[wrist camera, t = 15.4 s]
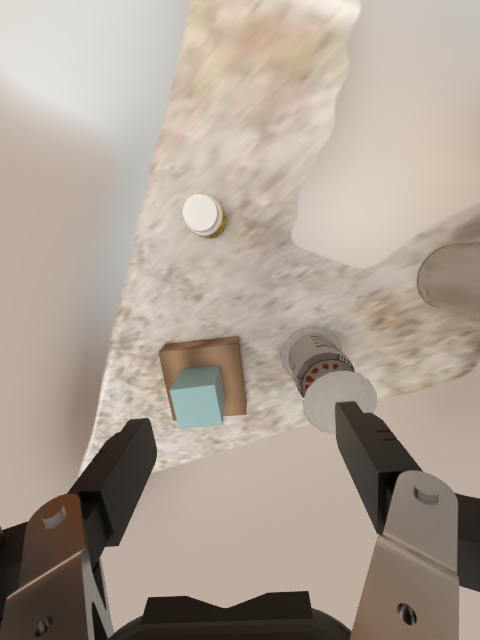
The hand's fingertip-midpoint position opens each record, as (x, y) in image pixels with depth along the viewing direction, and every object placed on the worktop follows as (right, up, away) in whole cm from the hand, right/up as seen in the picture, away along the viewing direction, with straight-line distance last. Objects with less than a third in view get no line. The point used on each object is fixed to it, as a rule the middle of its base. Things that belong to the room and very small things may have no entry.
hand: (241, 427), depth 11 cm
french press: (+12, -2, +31) cm, 34 cm away
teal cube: (-6, -5, +29) cm, 30 cm away
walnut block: (-6, -4, +33) cm, 34 cm away
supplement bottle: (-4, +19, +26) cm, 33 cm away
